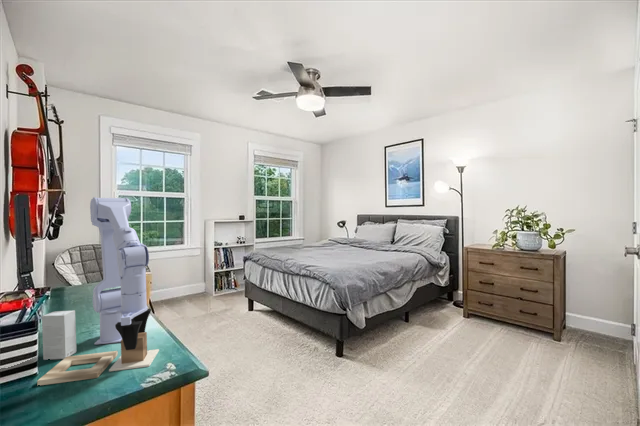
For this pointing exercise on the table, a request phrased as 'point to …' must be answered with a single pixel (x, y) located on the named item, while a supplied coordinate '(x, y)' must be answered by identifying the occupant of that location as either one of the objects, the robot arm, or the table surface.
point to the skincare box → (59, 334)
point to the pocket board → (61, 375)
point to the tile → (139, 364)
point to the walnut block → (135, 350)
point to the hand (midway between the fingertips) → (135, 343)
